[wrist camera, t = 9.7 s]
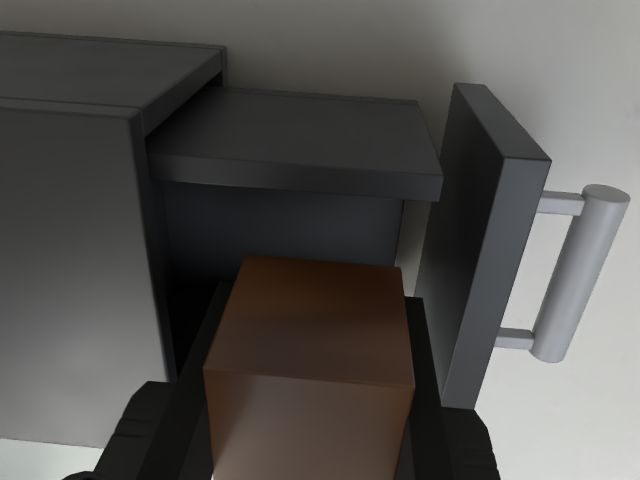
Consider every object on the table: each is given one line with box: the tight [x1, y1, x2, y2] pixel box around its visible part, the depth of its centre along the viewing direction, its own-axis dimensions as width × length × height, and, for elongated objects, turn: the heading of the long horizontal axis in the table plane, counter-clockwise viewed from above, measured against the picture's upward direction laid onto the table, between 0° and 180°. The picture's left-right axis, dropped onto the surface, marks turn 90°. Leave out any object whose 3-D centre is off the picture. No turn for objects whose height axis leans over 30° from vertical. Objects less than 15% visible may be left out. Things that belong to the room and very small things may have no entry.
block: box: [203, 254, 415, 480], centre depth 13 cm, size 4×4×4 cm
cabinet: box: [0, 30, 228, 449], centre depth 19 cm, size 15×13×10 cm
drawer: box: [144, 83, 630, 410], centre depth 19 cm, size 18×11×8 cm, turn 87°
